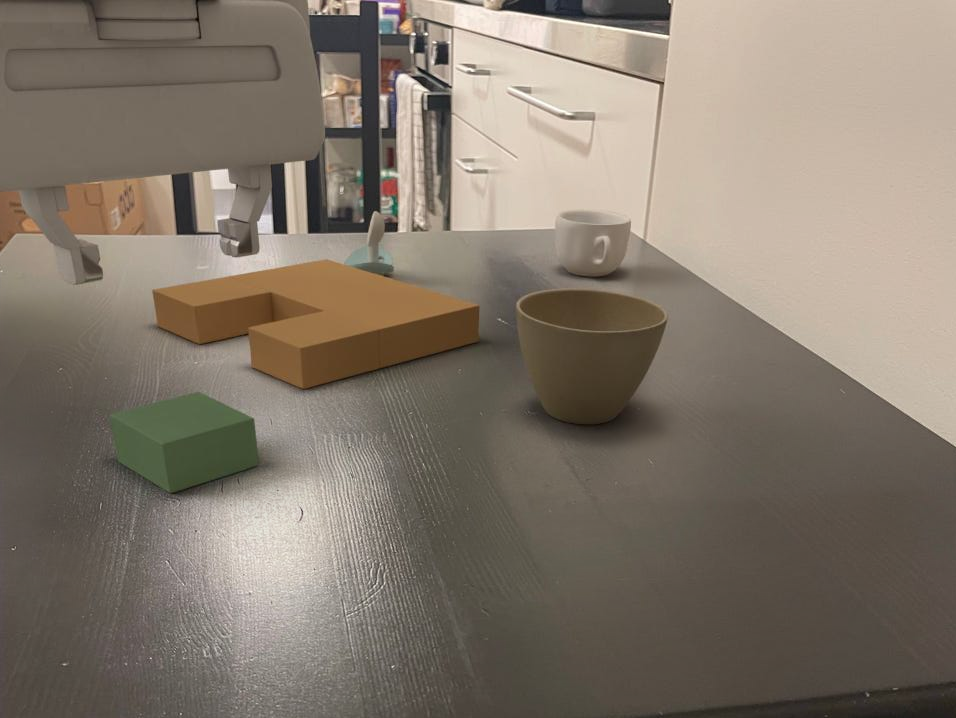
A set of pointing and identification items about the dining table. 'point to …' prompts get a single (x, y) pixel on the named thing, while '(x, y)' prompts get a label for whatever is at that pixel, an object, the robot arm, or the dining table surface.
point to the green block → (184, 441)
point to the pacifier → (372, 250)
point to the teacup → (591, 241)
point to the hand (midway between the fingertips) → (166, 267)
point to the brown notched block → (318, 319)
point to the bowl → (587, 349)
